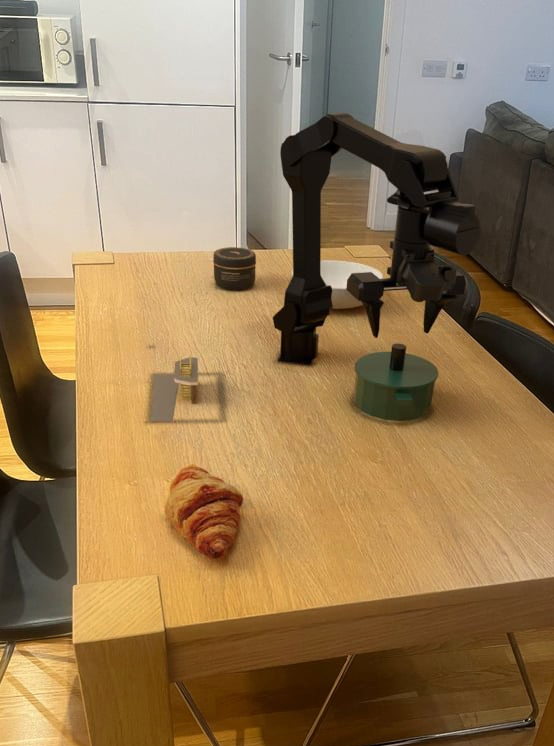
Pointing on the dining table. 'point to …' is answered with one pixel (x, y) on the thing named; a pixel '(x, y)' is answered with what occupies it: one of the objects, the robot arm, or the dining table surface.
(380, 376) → the lid
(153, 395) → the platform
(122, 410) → the dining table surface
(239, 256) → the jar
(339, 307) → the serving bowl
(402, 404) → the pot
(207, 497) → the croissant
